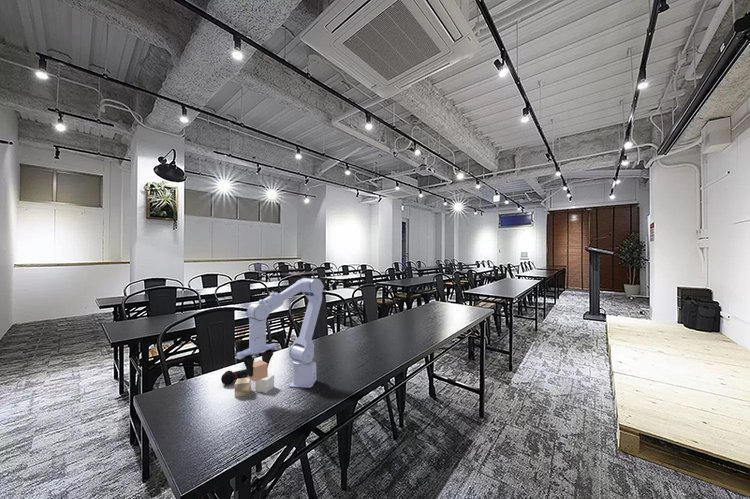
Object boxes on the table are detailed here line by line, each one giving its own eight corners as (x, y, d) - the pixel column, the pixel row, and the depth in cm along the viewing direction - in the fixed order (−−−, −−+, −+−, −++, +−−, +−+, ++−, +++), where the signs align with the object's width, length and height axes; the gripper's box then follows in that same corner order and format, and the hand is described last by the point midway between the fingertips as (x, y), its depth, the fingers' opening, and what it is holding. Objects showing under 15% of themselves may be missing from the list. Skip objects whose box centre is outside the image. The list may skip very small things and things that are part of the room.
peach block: (260, 373, 108) (260, 360, 109) (267, 376, 105) (267, 363, 105) (247, 377, 105) (247, 364, 105) (254, 381, 101) (254, 367, 101)
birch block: (250, 389, 114) (250, 377, 115) (248, 395, 110) (248, 382, 110) (237, 391, 113) (237, 378, 113) (234, 397, 108) (234, 384, 108)
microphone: (256, 375, 136) (218, 388, 117) (254, 363, 137) (217, 373, 119) (265, 373, 134) (228, 385, 116) (263, 360, 135) (226, 371, 117)
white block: (274, 387, 117) (274, 374, 117) (266, 392, 112) (266, 380, 112) (263, 385, 118) (263, 373, 118) (255, 391, 113) (255, 378, 113)
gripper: (243, 343, 97) (243, 383, 97) (281, 333, 108) (281, 369, 108) (233, 339, 102) (233, 377, 101) (271, 330, 113) (271, 365, 112)
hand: (257, 373), depth 105 cm, fingers closed on peach block, 5 cm apart
